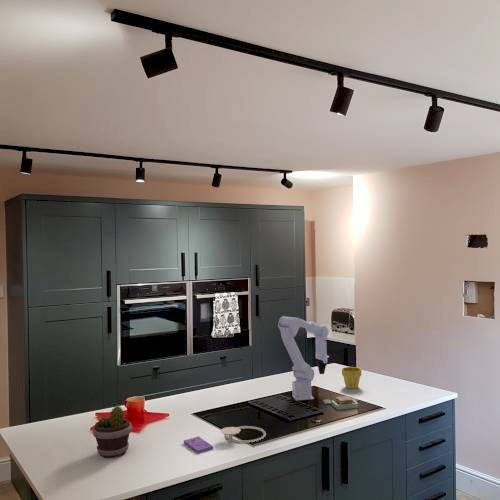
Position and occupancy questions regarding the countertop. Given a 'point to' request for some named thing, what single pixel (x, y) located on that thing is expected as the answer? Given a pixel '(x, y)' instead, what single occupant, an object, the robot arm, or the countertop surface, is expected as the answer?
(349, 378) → the plant pot
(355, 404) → the green u-shaped piece
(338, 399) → the walnut block
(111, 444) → the flowerpot
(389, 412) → the countertop surface
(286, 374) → the countertop surface
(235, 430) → the hand towel holder
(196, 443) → the sponges
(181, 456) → the countertop surface
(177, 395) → the countertop surface
